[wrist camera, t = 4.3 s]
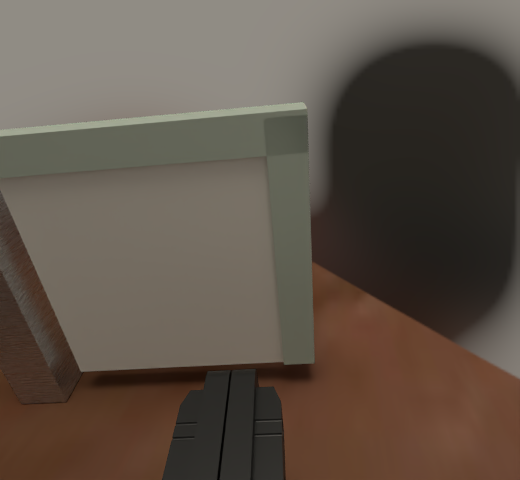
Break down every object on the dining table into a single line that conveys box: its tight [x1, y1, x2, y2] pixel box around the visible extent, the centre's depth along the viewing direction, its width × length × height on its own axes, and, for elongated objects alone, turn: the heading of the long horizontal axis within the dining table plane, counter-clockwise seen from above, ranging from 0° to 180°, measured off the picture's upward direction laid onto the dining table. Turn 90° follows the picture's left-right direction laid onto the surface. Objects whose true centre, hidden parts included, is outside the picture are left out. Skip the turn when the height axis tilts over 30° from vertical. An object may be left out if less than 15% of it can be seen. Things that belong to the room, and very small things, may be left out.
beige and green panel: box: [0, 102, 315, 372], centre depth 17 cm, size 13×2×13 cm, turn 89°
